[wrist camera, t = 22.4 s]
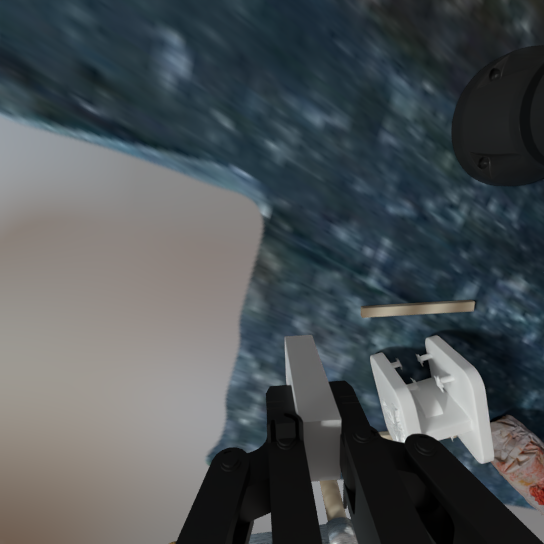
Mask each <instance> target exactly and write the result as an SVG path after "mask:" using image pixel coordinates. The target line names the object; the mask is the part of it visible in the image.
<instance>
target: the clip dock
mask: <svg viewBox="0 0 544 544" xmlns="http://www.w3.org/2000/svg"><path fill="white" fill-rule="evenodd" d="M474 305H475V302H474V301H473V300H460V301H442V302H425V303H408V304H391V305H374V306H361V316H362V318H365V317H381V316H398V315H415V314H432V313H449V312H466V311H474ZM379 434H380V435H381V437H383V438H386V439H389V440H393V439H392V437H391V435H390V433H389V431H386V432H379ZM456 436H457V435H456ZM456 436H453V437H454V438H456ZM453 437H452V438H453ZM449 438H451V437H449ZM320 485H321V490H322V495H323V500H324V504H325V509H326V514H327V519H328V522H329V521H330V520H332V519H334V518H338V517H345V518H347V517H346V514H345V509H344V508H343V502H342V498H341V495H340V491H339V487H338V483H337V480H325V481H320Z"/></svg>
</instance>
